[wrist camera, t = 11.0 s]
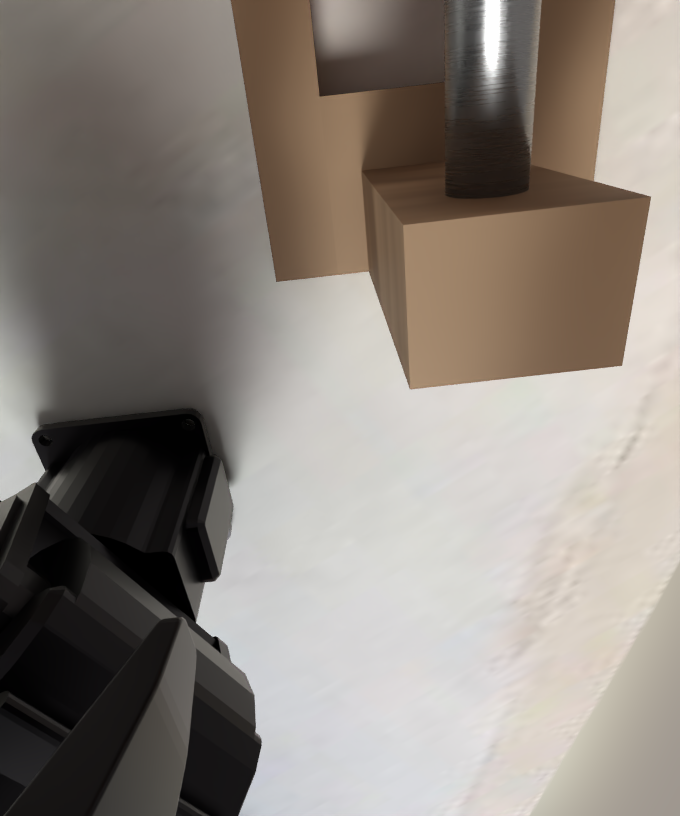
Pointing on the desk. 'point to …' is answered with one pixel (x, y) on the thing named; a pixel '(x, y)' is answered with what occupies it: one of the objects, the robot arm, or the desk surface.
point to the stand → (456, 187)
